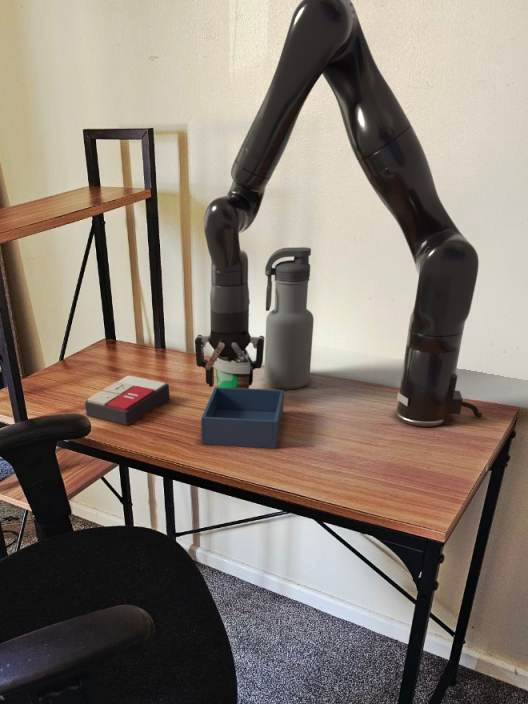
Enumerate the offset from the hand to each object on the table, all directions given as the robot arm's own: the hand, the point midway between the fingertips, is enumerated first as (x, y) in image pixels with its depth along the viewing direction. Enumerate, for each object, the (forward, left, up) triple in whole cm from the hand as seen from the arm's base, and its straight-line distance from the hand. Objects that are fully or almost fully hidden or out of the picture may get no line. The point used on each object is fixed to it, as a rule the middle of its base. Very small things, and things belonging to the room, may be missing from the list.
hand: (229, 386), depth 146 cm
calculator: (+20, +6, -4) cm, 22 cm away
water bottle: (-11, -12, -4) cm, 16 cm away
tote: (-5, +13, -3) cm, 15 cm away
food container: (0, 0, -4) cm, 4 cm away
